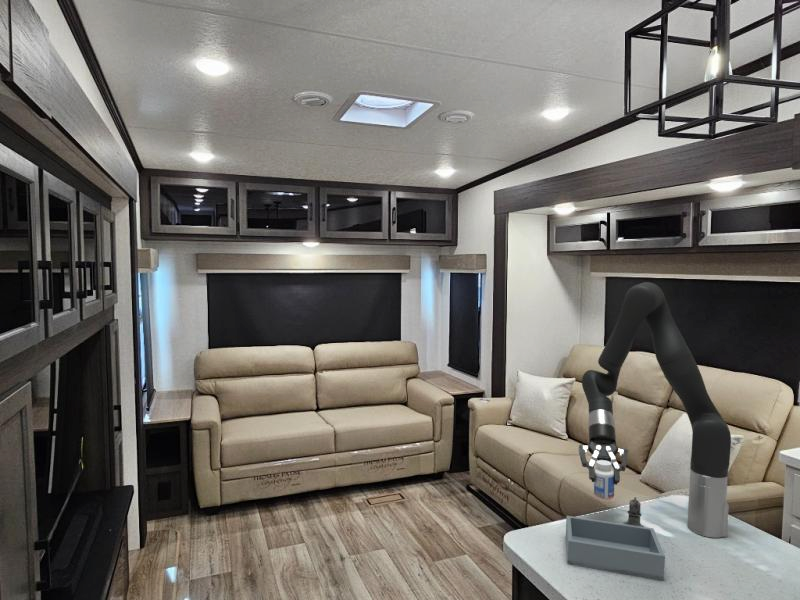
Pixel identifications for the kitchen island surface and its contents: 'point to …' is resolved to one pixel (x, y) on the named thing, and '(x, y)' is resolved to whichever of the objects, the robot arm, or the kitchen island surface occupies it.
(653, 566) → the tote
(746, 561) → the kitchen island surface
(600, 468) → the pill bottle
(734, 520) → the kitchen island surface
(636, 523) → the grey stone chess piece
